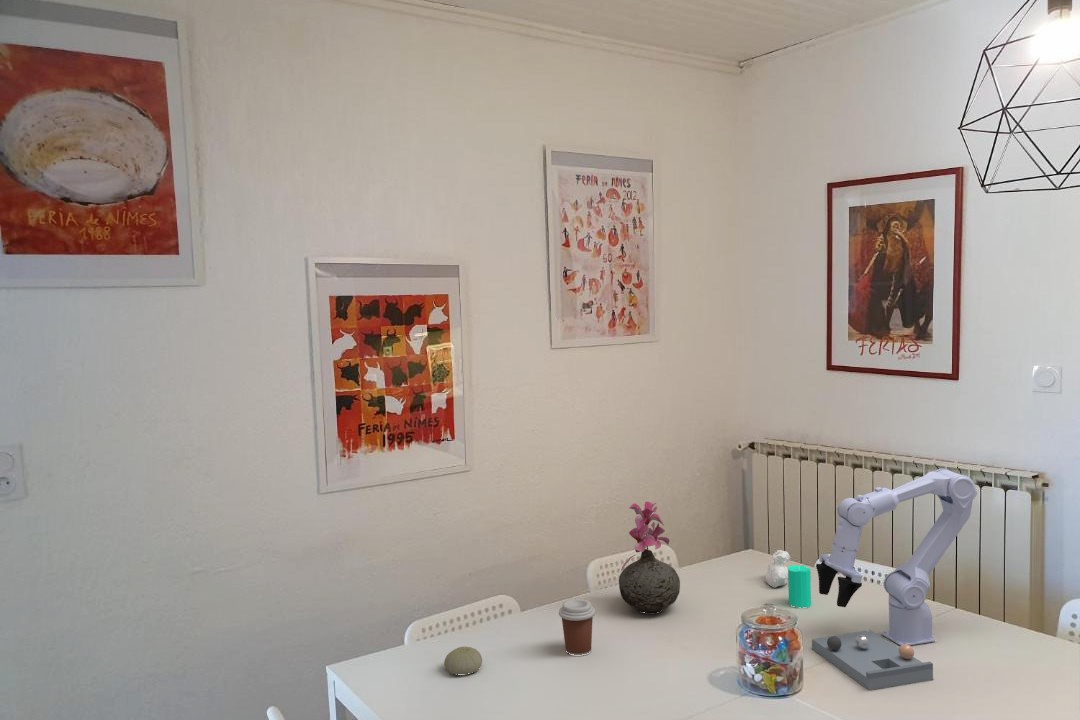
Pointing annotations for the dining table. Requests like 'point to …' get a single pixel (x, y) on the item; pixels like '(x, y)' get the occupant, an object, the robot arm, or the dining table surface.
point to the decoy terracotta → (906, 651)
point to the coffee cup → (577, 625)
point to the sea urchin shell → (463, 660)
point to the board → (873, 661)
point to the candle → (799, 586)
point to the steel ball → (862, 642)
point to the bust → (778, 569)
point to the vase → (648, 568)
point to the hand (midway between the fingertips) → (832, 600)
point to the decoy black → (834, 643)
